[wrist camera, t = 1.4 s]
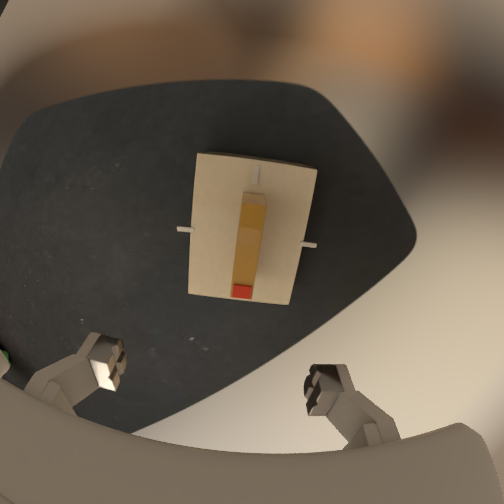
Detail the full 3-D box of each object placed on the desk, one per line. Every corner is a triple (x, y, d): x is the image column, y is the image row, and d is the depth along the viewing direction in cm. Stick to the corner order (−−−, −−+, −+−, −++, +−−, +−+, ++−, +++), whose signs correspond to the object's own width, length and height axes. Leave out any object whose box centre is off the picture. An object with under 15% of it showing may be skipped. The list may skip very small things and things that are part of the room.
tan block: (192, 149, 22) (182, 152, 19) (320, 167, 23) (332, 173, 19) (184, 273, 27) (175, 292, 24) (294, 286, 28) (300, 307, 24)
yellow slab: (242, 191, 20) (241, 203, 17) (264, 194, 20) (267, 206, 17) (232, 274, 23) (229, 299, 20) (251, 276, 23) (251, 301, 20)
